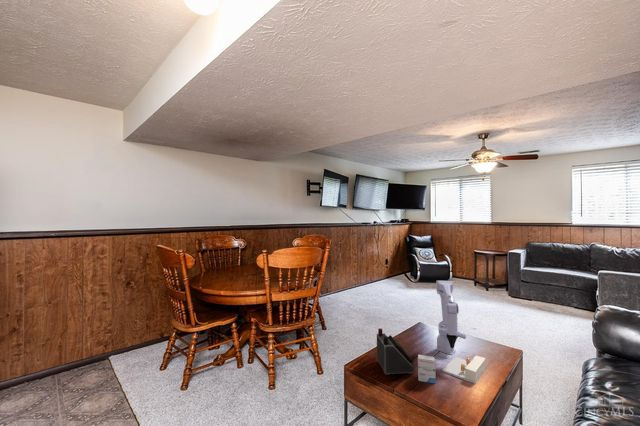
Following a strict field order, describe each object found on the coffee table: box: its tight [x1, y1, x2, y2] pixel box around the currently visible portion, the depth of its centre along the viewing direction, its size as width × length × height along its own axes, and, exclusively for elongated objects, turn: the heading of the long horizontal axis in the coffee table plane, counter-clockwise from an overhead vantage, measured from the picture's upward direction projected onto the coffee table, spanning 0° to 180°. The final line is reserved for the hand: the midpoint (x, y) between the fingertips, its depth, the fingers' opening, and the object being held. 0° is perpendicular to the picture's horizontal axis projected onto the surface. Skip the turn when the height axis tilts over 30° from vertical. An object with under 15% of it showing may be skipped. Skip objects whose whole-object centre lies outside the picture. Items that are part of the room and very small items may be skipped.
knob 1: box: [461, 364, 466, 372], centre depth 152 cm, size 3×4×4 cm
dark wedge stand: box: [376, 328, 415, 376], centre depth 159 cm, size 16×16×20 cm
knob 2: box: [466, 357, 472, 365], centre depth 158 cm, size 3×4×4 cm
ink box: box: [417, 354, 437, 384], centre depth 147 cm, size 8×5×12 cm, turn 71°
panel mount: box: [442, 355, 487, 385], centre depth 156 cm, size 16×20×6 cm
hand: (452, 347), depth 163 cm, fingers closed
